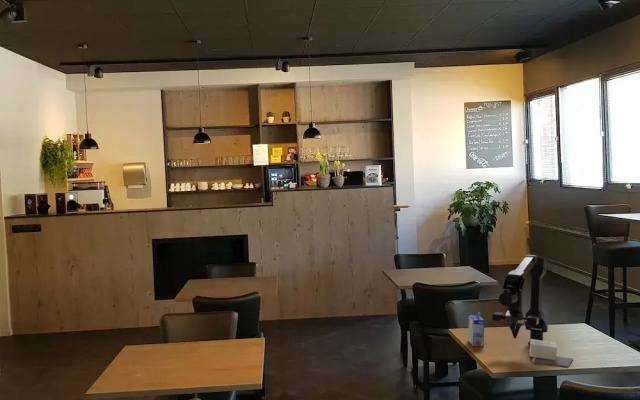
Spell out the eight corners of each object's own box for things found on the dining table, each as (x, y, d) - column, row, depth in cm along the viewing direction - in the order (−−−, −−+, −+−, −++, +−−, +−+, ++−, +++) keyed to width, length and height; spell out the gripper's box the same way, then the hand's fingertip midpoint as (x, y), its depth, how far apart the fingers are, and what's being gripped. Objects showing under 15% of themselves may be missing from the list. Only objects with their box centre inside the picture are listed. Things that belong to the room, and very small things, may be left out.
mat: (537, 354, 258) (537, 352, 258) (573, 359, 251) (573, 357, 251) (531, 362, 248) (531, 359, 248) (568, 367, 240) (568, 364, 240)
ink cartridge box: (484, 346, 271) (485, 315, 271) (472, 346, 271) (472, 315, 271) (479, 340, 281) (479, 310, 281) (467, 340, 281) (468, 310, 281)
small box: (529, 356, 251) (555, 360, 248) (530, 343, 251) (557, 347, 247) (529, 351, 259) (555, 355, 255) (530, 338, 258) (556, 342, 255)
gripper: (488, 303, 254) (488, 339, 255) (534, 308, 245) (533, 345, 245) (495, 299, 264) (495, 333, 264) (539, 303, 254) (539, 339, 255)
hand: (515, 338), depth 257 cm, fingers closed
